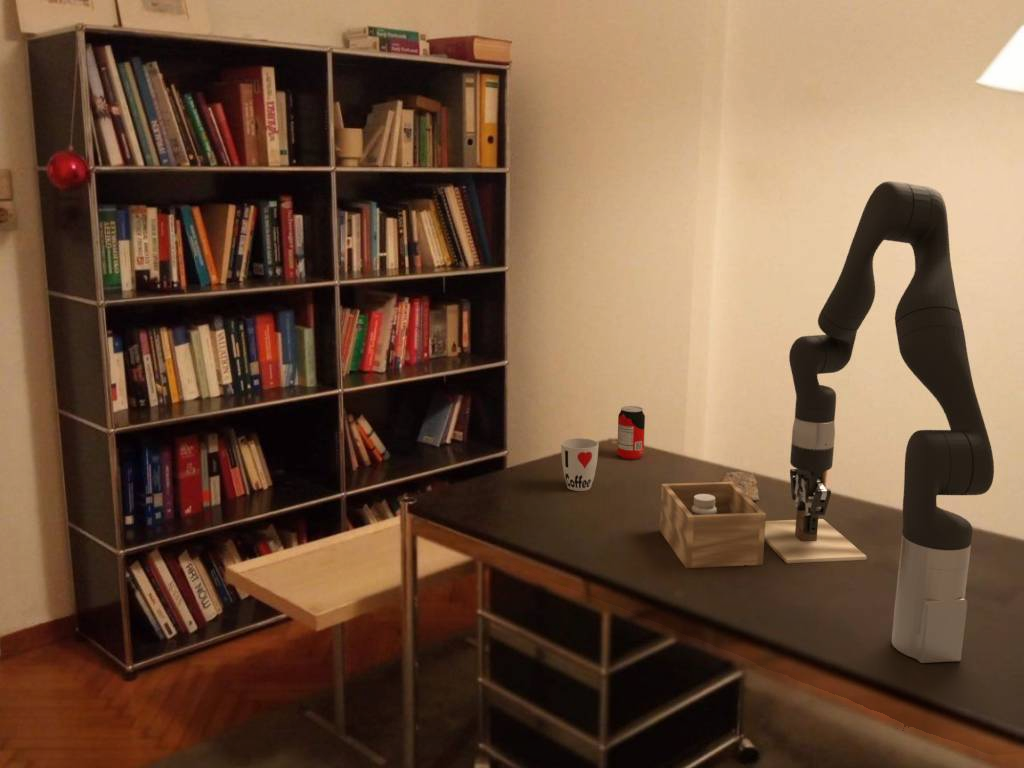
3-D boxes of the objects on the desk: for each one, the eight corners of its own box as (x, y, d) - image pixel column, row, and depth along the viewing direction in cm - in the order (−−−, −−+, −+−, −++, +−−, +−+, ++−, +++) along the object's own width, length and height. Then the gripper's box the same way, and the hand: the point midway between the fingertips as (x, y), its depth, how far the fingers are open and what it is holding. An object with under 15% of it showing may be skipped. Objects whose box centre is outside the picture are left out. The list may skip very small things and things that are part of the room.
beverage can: (648, 458, 239) (650, 409, 236) (627, 462, 236) (629, 413, 233) (632, 451, 244) (634, 404, 241) (611, 455, 241) (613, 407, 238)
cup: (556, 491, 215) (557, 446, 213) (565, 479, 223) (566, 436, 220) (593, 495, 213) (594, 450, 211) (601, 483, 220) (602, 439, 218)
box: (762, 564, 177) (766, 514, 175) (685, 568, 175) (688, 517, 173) (729, 527, 194) (732, 481, 192) (659, 530, 193) (661, 483, 191)
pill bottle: (715, 544, 186) (717, 502, 184) (689, 542, 187) (691, 500, 185) (715, 535, 191) (717, 493, 189) (690, 533, 191) (692, 492, 190)
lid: (866, 561, 180) (869, 530, 178) (786, 565, 178) (788, 533, 177) (822, 523, 198) (824, 494, 197) (749, 526, 196) (751, 497, 195)
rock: (713, 488, 218) (719, 494, 208) (720, 462, 218) (727, 468, 208) (751, 499, 218) (759, 506, 208) (759, 473, 218) (767, 479, 208)
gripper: (849, 452, 177) (841, 543, 181) (816, 431, 191) (810, 516, 195) (808, 453, 176) (801, 544, 180) (778, 432, 190) (773, 517, 194)
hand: (806, 529), depth 187 cm, fingers open, 3 cm apart
